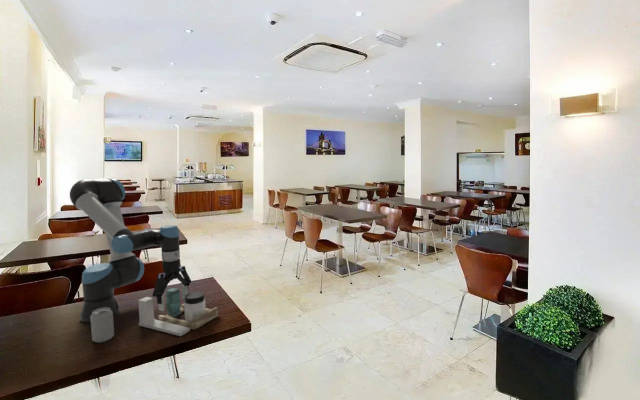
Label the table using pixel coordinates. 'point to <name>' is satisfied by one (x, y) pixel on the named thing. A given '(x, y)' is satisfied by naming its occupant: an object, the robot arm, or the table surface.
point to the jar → (194, 305)
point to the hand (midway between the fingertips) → (174, 304)
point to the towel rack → (175, 310)
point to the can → (102, 324)
